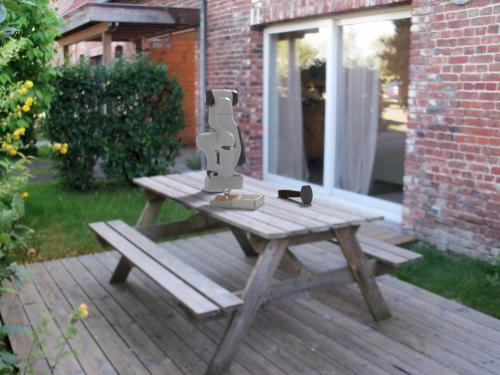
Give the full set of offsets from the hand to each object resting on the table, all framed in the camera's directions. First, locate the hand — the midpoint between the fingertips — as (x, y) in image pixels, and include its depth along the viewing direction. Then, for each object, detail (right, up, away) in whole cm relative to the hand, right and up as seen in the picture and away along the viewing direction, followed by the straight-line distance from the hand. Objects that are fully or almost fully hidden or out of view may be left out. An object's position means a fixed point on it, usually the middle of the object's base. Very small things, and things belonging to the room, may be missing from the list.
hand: (226, 196), depth 351 cm
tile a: (+4, -1, -1) cm, 4 cm away
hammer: (+41, -3, +11) cm, 43 cm away
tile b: (-3, -2, -7) cm, 8 cm away
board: (0, -5, -3) cm, 6 cm away
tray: (+13, -6, -7) cm, 16 cm away
